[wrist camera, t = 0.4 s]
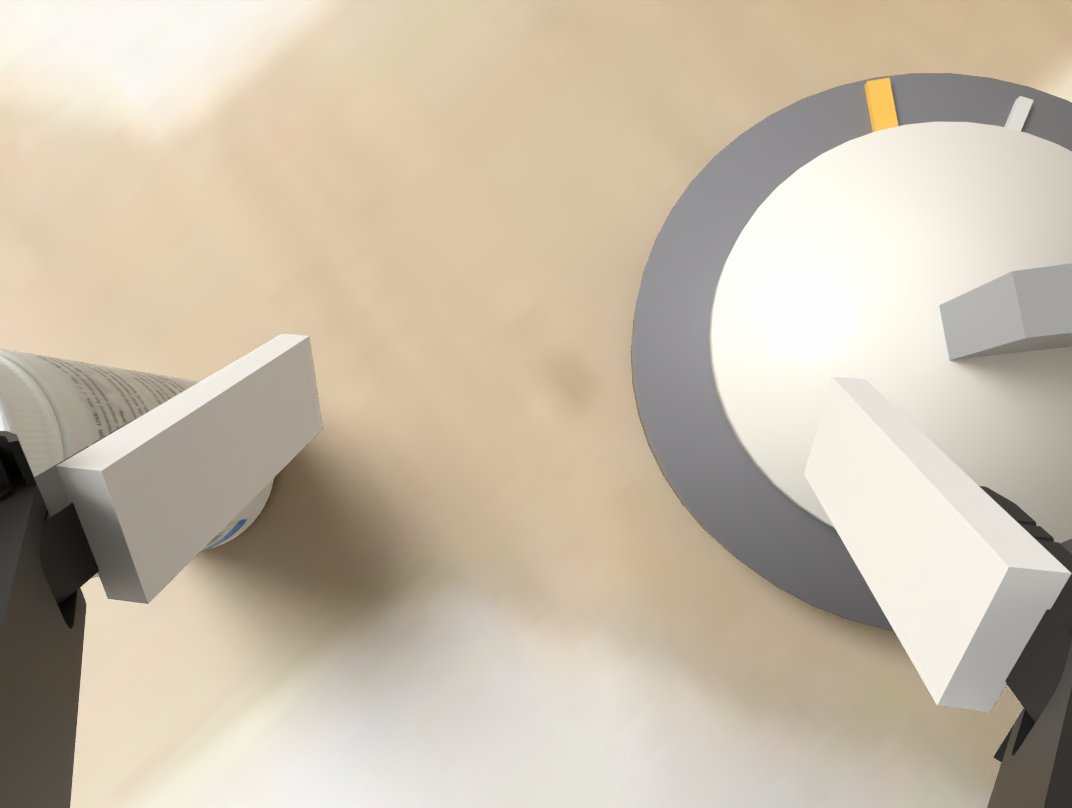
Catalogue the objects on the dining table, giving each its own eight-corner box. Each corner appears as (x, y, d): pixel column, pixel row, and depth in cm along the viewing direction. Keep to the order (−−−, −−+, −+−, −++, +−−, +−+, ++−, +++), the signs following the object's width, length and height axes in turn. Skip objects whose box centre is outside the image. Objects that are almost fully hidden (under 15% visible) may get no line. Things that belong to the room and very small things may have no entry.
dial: (738, 570, 25) (787, 613, 18) (683, 176, 27) (709, 79, 20) (1355, 524, 22) (1692, 553, 15) (1240, 87, 25) (1492, -62, 18)
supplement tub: (169, 365, 34) (-163, 294, 19) (306, 414, 32) (59, 377, 18) (112, 518, 33) (-274, 565, 19) (248, 575, 32) (-54, 673, 17)
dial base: (1241, 597, 25) (1334, 617, 22) (663, 633, 29) (669, 656, 25) (1118, 70, 28) (1183, 20, 25) (604, 156, 31) (604, 121, 28)
